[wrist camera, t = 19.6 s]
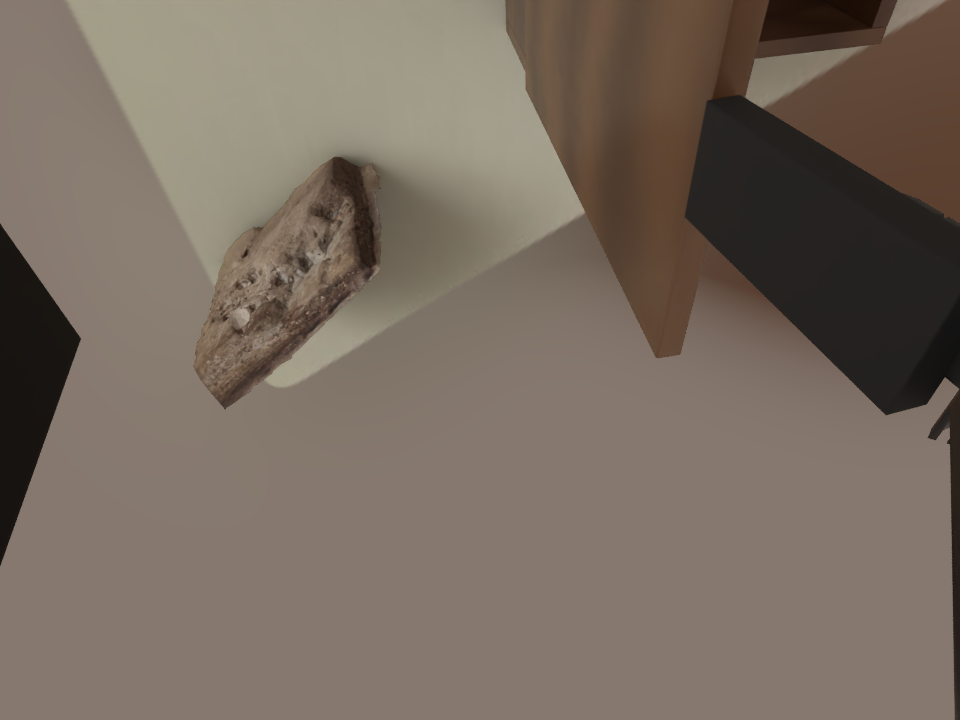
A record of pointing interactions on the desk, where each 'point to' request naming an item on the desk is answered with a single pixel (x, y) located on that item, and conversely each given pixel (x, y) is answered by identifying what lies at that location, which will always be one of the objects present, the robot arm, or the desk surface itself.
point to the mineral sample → (290, 278)
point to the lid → (639, 129)
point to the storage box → (782, 25)
